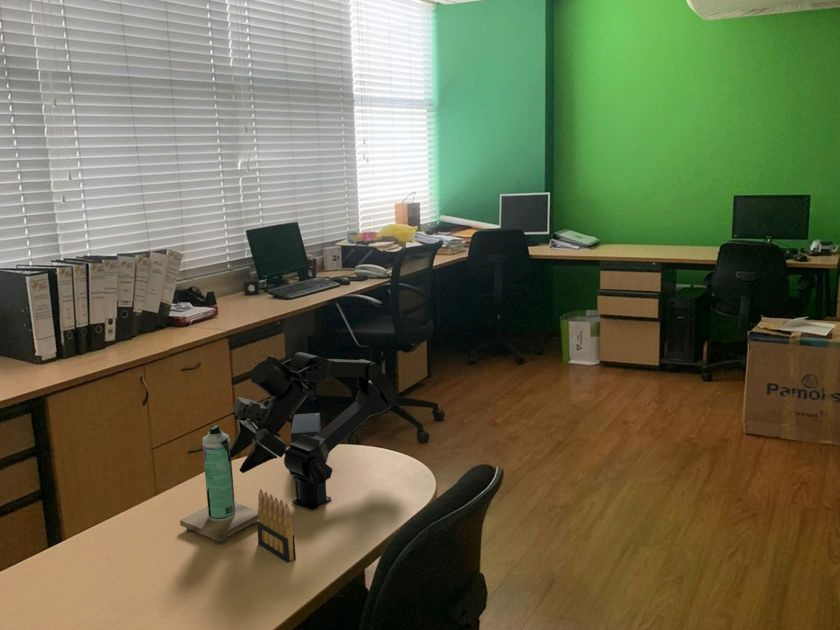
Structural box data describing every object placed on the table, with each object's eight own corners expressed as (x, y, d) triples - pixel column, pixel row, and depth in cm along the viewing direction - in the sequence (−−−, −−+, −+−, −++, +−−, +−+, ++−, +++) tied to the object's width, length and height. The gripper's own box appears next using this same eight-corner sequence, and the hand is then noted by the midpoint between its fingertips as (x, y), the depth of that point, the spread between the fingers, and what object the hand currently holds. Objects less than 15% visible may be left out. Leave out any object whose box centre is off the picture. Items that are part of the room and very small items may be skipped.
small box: (295, 457, 200) (293, 413, 198) (322, 456, 201) (320, 412, 199) (293, 479, 188) (290, 432, 185) (321, 477, 188) (319, 430, 186)
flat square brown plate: (263, 522, 166) (262, 512, 166) (219, 546, 157) (218, 535, 156) (225, 508, 173) (224, 498, 172) (181, 531, 163) (179, 520, 163)
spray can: (239, 510, 167) (232, 421, 162) (230, 522, 161) (223, 431, 157) (214, 509, 167) (206, 421, 163) (204, 521, 162) (196, 431, 157)
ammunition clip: (296, 559, 151) (293, 502, 149) (288, 563, 150) (285, 506, 147) (265, 540, 159) (262, 486, 156) (257, 544, 157) (254, 489, 155)
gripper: (243, 372, 171) (196, 429, 168) (267, 396, 154) (216, 459, 152) (280, 400, 176) (235, 456, 173) (307, 426, 160) (258, 488, 157)
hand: (235, 463), depth 164 cm, fingers open, 9 cm apart
